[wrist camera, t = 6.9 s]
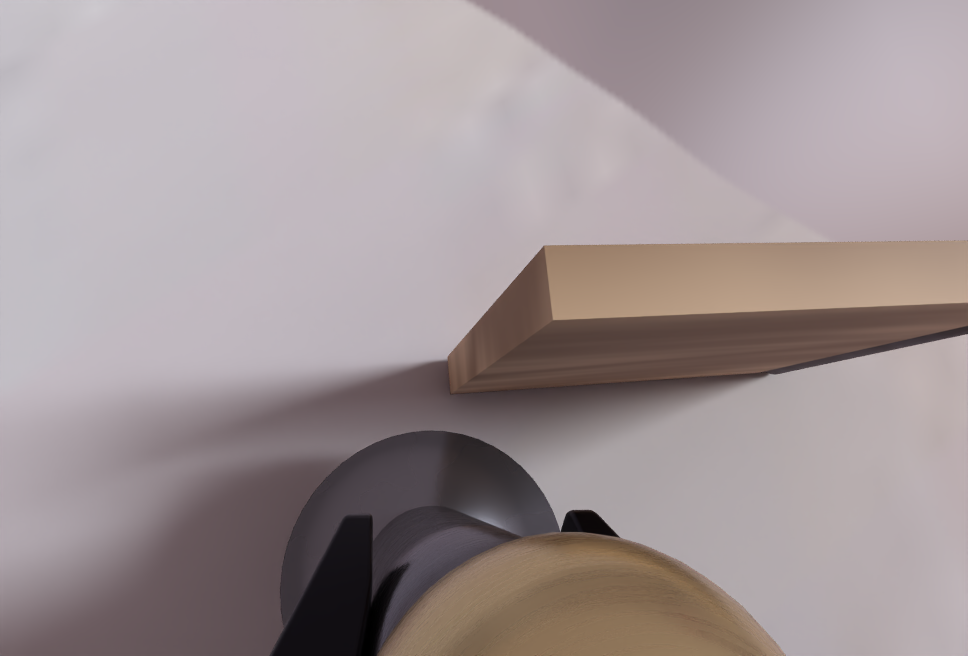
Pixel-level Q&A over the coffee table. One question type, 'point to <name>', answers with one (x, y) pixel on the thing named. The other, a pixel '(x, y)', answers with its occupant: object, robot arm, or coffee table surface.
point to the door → (709, 311)
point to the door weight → (503, 565)
